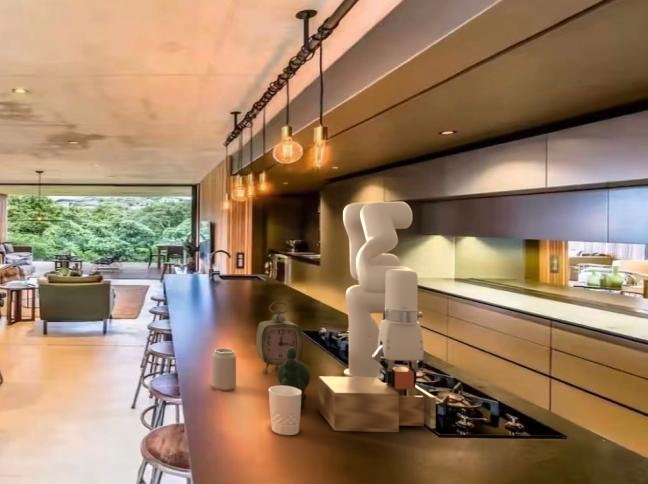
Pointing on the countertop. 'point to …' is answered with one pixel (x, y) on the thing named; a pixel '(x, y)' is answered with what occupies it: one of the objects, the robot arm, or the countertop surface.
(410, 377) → the block
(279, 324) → the tabletop clock
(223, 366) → the can
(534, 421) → the countertop surface
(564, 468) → the countertop surface
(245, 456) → the countertop surface
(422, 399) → the drawer
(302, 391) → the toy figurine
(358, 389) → the cabinet
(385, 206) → the robot arm
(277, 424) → the white cup
